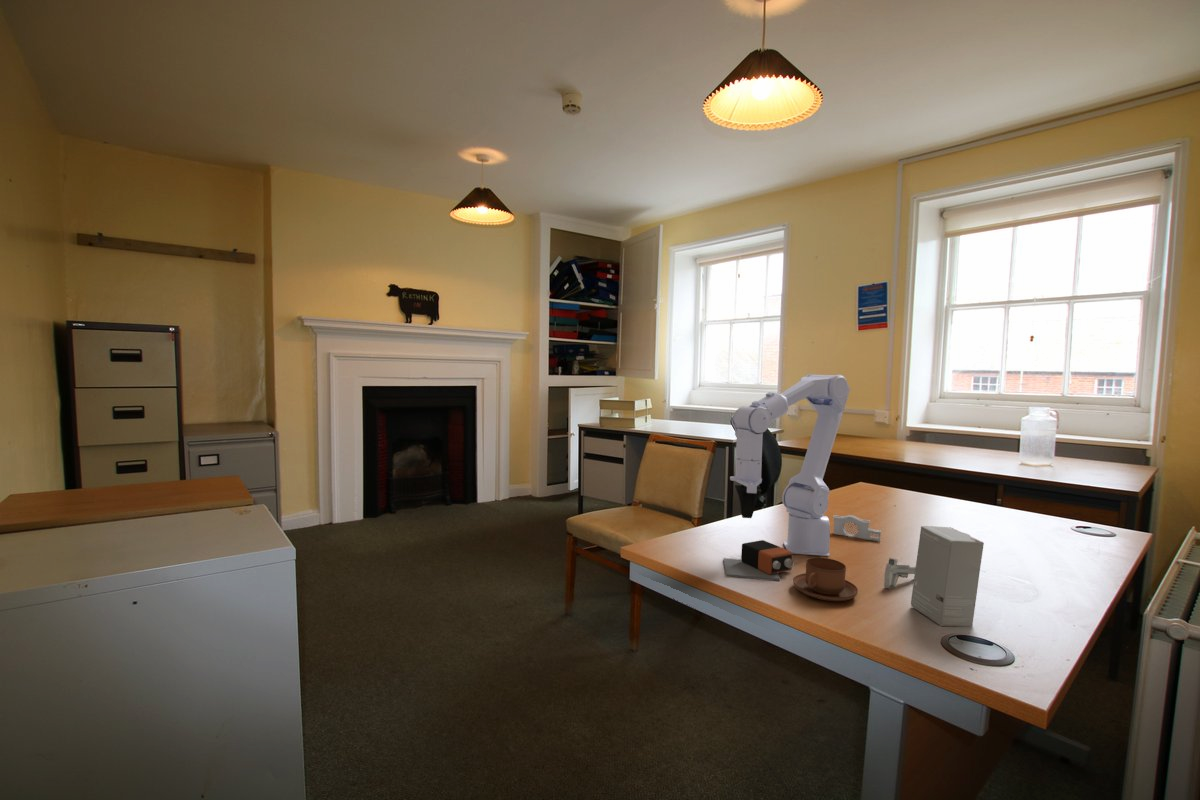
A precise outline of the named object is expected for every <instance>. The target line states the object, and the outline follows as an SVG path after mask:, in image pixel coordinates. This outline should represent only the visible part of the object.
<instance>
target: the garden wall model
mask: <svg viewBox="0 0 1200 800" xmlns="http://www.w3.org/2000/svg"><path fill="white" fill-rule="evenodd" d="M832 518H833V534H834V535H840V536H845V537H847V536H848V537H849V538H856V539H862V540H868V541H873V542H874V541H875V542H881V536H882V535H881V534H882V532H883V531H882V530H881V529H874V528H870V524H871V522H872V521H871V520H870V519H862V518H859V517H858V516H855V515H852V514H849V515H848V514H847V515H842V516H841V515H837V514H833V516H832ZM848 537H847V538H848Z"/></svg>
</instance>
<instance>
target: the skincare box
mask: <svg viewBox="0 0 1200 800" xmlns="http://www.w3.org/2000/svg"><path fill="white" fill-rule="evenodd" d="M984 545H985V543H984V542H983V541H982V540H979V539H977V538H975V537H973V536H971V534H969V533H965V532H962V531H959V530H958V529H955V528H954V527H951V526H949V527H948V526H933V525H921V526H920V533H919V541H918V546H917V555H916V561H915V562H916V563H915V566H916V569H915V574H914V576H913V583H912V584H913V585H912V591H911V592H912V594H911V599H910V605H911V607H912V608H913V609H914V610H917V611H918V612H920V613H921V614H922V615H924V616H926V617H927V618H928V619H930V620H931V621H933V622H934V623H936V624H938V625H939V626H940V627H941V626H942V627H943V626H944V627H949V626H950V627H953V626H957V627H970V626H971V627H972V626H973V623H974V617H975V616H974V615H975V609H976V603H977V596H978V595H977V594H978V588H979V582H980V581H979V580H980V579H979V578H980V571H981V566H982V558H983V551H984Z"/></svg>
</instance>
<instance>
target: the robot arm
mask: <svg viewBox="0 0 1200 800" xmlns="http://www.w3.org/2000/svg"><path fill="white" fill-rule="evenodd" d="M850 391H851V388H850V385H849V384H848V380H847V379H846V377H845V376H844V375H843V374H836V375H835V374H831V375H830V374H828V375H827V374H813V373H808V374H807V375H805V376H803V377H801V378H800V379H799V381H798V382H797V383H794V384H793V385H791V386H790V387H789V388H788V389H786V390H784V391H783V392H781V393H778V392H773V391H772V392H767V393H766V394H765V397H763V398H761V399H760V400H759V399H758V400H754V401H752V402H751V404H750V405H749V406H741V407H738V409H737V410H736V411H735V412H733V416H732V417H731V420H730V421H731V425H732V427H733V429H734V436H735V438H736V444H735V445H736V447H735V448H736V449H735V474H734V476H733V475H732V476H729V480H730V481H733V482H736V483H738V484H736V485H734V488H735V490H736V493H737V496H738V502H739V508H740V514H741V517H742V518H743V519H752V517H753V515H754V511H755V507H756V503H757V500H759V499H758V498H759V497H760V495H761V493H762V489H761V486H760V484H762V481H763V478H762V467H763V466H762V462H763V458H762V457H763V440H764V439H763V435H764V433H765V432H766V431H767V430H768V427H769V426H770V424H771V423H772V422H774V421H776V420H777V419H779V418H780V417H783V416H784V415H786V413H787V412H788V410H789V407H791V406H792V405H795V404H797V403H798V402H800V401H803V400H805V399H806V401H807V402H808V404H810V406H811V407H812V408H813V409H814V410H815V411H816V413H817V417H816V420H815V423H814V427H813V431H812V432H811V433H812V434H811V437H810V440H809V443H808V446H807V450H806V453H805V456H804V458H803V459H804V460H803V463H802V465H801V468H800V471H799V473H797V474H796V475H794V476H792V477H791V478H790V479H789V482H788V484H787V486H786V487H785V488H784V490H783V493H782V495H781V500H782V501H781V502H782V505H783V506H784V507H785V508H786V512H787V513H788V521H787V522H788V523H787V524H788V525H787V541H783V542H782V543H783V545H784V547H785V549H786V550H789V551H791V552H792V555H793V554H795V555H807V556H808V555H810V556H821V557H822V556H825V557H830V555H831V554H830V542H831V541H830V539H831V538H830V537H831V535H830V534H831V526H830V525H831V524H830V519H829V517H828V516H827V515H824V514H825V513H826V512H827V510H828V507H829V495H830V488H829V486H827V484H826V483H825V482H824V480H823V479H824V476H825V473H826V469H827V465H828V463H829V460H830V456H831V453H832V451H833V447H834V444H835V441H836V440H835V439H836V436H837V433H838V430H839V427H840V423H841V421H842V417H843V413H844V410H845V407H846V405H847V401H848V397H849V394H850Z"/></svg>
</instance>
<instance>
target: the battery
mask: <svg viewBox="0 0 1200 800" xmlns="http://www.w3.org/2000/svg"><path fill="white" fill-rule="evenodd" d="M740 556H741V557H740V559H741V561H742V562H744V563H746V564H748V565H750V566H752V567H754V568H756V569H759V570H761V571H763V572H765V573H767V574H769V575H771V574H776V573H778V574H779V573H785V572H786V573H787V572H790V571H792V567H794V560H793V553H792V552H791V551H789V550H787V549H786V548H784V547H781V546H779V545H776V544H773V543H771V542H770V541H767V540H763V539H762V540H755V541H749V542H744V543H742V544H741V555H740Z"/></svg>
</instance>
